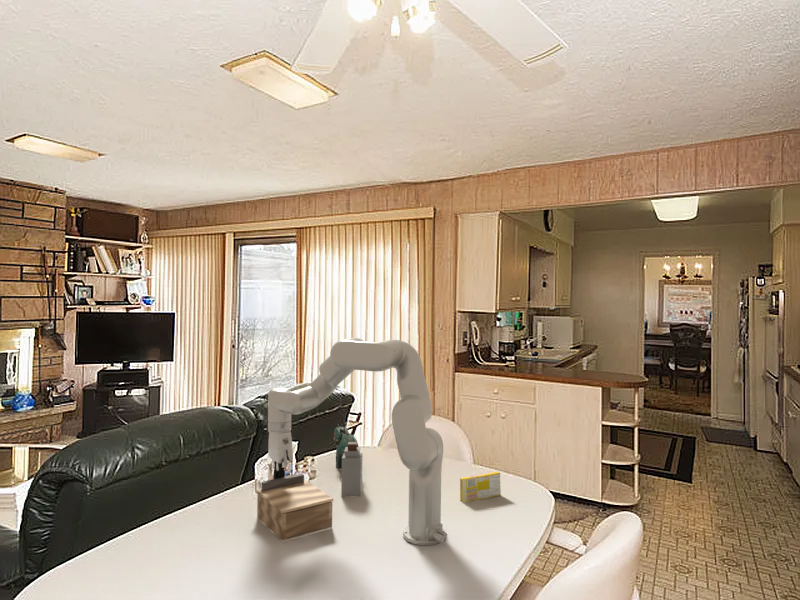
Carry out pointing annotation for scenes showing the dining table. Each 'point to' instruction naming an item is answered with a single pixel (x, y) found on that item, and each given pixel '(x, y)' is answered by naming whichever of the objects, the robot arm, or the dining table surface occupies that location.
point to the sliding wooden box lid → (292, 493)
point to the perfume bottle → (351, 471)
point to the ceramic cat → (342, 442)
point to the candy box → (480, 487)
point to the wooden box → (294, 520)
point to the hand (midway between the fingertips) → (279, 481)
